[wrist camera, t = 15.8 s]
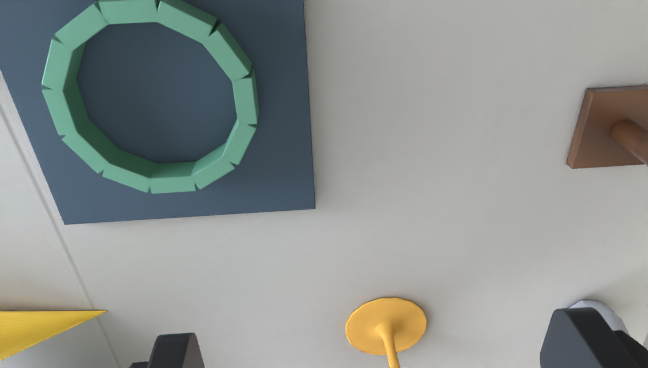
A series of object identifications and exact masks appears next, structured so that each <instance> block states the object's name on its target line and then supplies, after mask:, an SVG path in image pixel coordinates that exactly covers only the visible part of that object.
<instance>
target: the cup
mask: <svg viewBox="0 0 648 368" xmlns="http://www.w3.org/2000/svg"><path fill="white" fill-rule="evenodd" d="M426 325H427V318H426V316H425V314H424V312H423V310H422V309H421V308H420V307H419V306H417V305H416V304H415V303H413V302H412V301H409V300H405V299H401V298H397V297H396V298H379V299H377V300H374V301H371V302H368V303H365V304H363V305H362V306H361V307H359V308H358V309H357V310H355V311H354V312H353V313H352V314H351V316H350V317H349V319H348V321H347V323H346V337H347V338H348V340H349V342H350V343H351V345H352V346H354V347H356V348H357V349H359V350H360V351H362V352H365V353H370V354H374V355H386V354H387V356H388V362H389V368H400V365H399V361H398V357H397V352H400V351H403V350H406V349H408V348H409V347H411V346H412V345H414V344H415V343H417V342H418V341H419V340H420V338H421V337H422V335H423V334H424V333H425V331H426ZM409 368H410V367H409Z"/></svg>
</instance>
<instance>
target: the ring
mask: <svg viewBox="0 0 648 368" xmlns="http://www.w3.org/2000/svg"><path fill="white" fill-rule="evenodd" d="M143 22H159V23H161V24H163V25H165V26H167V27H169V28H171V29H173V30H175V31H177V32H180V33H182V34H184V35H186V36H188V37H190V38H192V39H194V40H196V41H198V42H200V43H203V45H204V46H205V47H206V48H207V50H208V51H209V52H210V54H211V55H212V56H213V58H214V59H215V60H216V61H217V63H218V64H219V65H220V67H221V68H222V69H223V70H224V72H225V73H226V74H227V76H228V77H229V78H230V80H231V81H232V85H233V92H234V99H235V105H236V112H237V120H236V122H235V124H234V126H233V129H232V131H231V133H230V135H229V137H228V139H227V142H226V143H225V144H223V145H222V146H220V147H218V148H217V149H215V150H214V151H212V152H211V153H209V154H207V155H206V156H204V157H203V158H201V159H199V160H198V161H196V162H180V163H163V164H157V163H154V162H151V161H149V160H146V159H144V158H141V157H139V156H136V155H133V154H131V153H128V152H126V151H123V150H121V149H119V148H118V147H117V146H116V145H115V144H114V143H113V142H112V141H111V140H110V139H109V138H108V137H107V136H106V135H105V134H104V133H103V132H102V131H101V130H100V129H99V128H98V127H97V126H96V125H95V124H94V123H93V122H92V121H91V120H90V119H89V118H88V115H87V111H86V108H85V105H84V102H83V99H82V96H81V93H80V90H79V87H78V84H77V81H76V78H77V74H78V71H79V67H80V63H81V59H82V56H83V52H84V48H85V44H86V41H88V40H89V39H90V38H92V37H93V36H94V35H96V34H97V33H98V32H99V31H101V30H102V29H103V28H105V27H106V26H107V25H109V24H124V23H143ZM216 22H217V17H215V16H213V15H211V14H209V13H207V12H205V11H203V10H201V9H199V8H197V7H195V6H193V5H191V4H188V3H186V2H184V1H182V0H99V1H97V2H95V3H94V4H92V5H91V6H90V7H88V8H87V9H86V10H84V11H83V12H82V13H81V14H79V15H78V16H77V17H76V18H74V19H73V20H72V21H70V22H69V23H68V24H67V25H65V26H64V27H63V28H62V29H60V30H59V31H58V32H56V33H55V35H56V37H54V38H52V40H51V44H50V49H49V53H48V58H47V62H46V66H45V71H44V75H43V79H42V85H44V86H46V87H45V88H44V89H42V92H43V94H44V97H45V100H46V102H47V105H48V108H49V110H50V113H51V116H52V118H53V121H54V124H55V126H56V129H57V132H58V134H59V135H65V137H64V138H63V139H62V140H63V141H64V142H65V143H66V144H67V145H68V146H69V147H70V148H71V149H72V150H73V151H74V152H75V153H76V154H77V155H79V156H80V157H81V158H82V159H83V160H84V161H85V162H86V163H87V164H88V165H89V166H90V167H91V168H92V169H93V170H94V171H96V172H97V173H100V172H101V171H103V170H104V172H103V175H102V176H103V177H105V178H108V179H111V180H113V181H116V182H119V183H122V184H124V185H127V186H130V187H132V188H135V189H138V190H141V191H143V192H146V193H147V192H148V190H149V188H150V189H151V192H152V194H155V193H171V192H188V191H196V189H197V186H198V188H199V189H202V188H204V187H205V186H207V185H209V184H210V183H212V182H214V181H215V180H217V179H219V178H220V177H222V176H224V175H225V174H227V173H228V172H230V171H232V170H233V169H235V167H236V164H237V165H239V163H240V161H241V159H242V157H243V155H244V153H245V151H246V149H247V147H248V145H249V143H250V141H251V139H252V137H253V135H254V133H255V131H256V128H257V123H258V116H259V104H258V96H257V87H256V79H255V70H254V67H253V68H251V65H252V62H251V61H250V59H249V58H248V56H247V55H246V54H245V52H244V51H243V50H242V48H241V47H240V45H239V44H238V43H237V41H236V40H235V39H234V37H233V36H232V35H231V33H230V32H229V30H228V29H227V28H226V26H225V25H224V24H223V22H221V23H219V24H218V25H217V26H215V24H216Z"/></svg>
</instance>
